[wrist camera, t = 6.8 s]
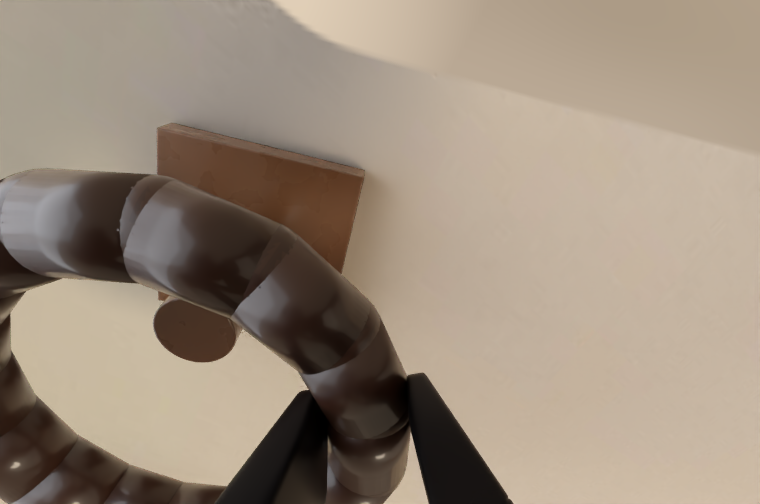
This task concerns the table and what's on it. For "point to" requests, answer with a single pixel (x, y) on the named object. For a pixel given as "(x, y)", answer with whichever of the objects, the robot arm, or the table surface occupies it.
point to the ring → (209, 291)
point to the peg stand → (258, 194)
